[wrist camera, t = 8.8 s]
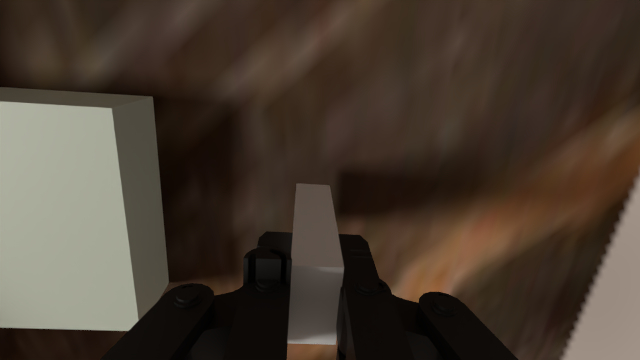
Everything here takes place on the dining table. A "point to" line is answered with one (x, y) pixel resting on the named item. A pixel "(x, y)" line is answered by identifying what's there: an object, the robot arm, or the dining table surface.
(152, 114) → the sage block
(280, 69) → the dining table surface
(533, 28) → the dining table surface
